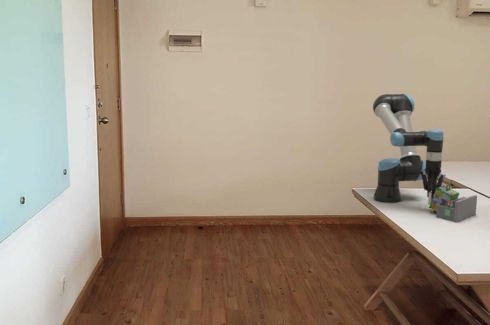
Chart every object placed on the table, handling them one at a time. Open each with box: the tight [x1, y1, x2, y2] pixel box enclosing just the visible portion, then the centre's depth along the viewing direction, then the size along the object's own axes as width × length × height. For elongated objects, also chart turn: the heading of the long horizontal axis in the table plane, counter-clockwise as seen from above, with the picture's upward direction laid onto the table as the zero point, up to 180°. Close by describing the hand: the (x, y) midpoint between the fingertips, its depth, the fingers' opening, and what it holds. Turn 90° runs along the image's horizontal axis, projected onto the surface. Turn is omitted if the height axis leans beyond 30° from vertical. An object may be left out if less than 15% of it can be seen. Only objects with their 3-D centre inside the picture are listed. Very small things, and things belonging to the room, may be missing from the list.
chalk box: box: [428, 182, 460, 212], centre depth 234 cm, size 9×9×15 cm
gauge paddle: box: [448, 196, 467, 208], centre depth 229 cm, size 1×16×8 cm, turn 128°
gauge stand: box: [435, 194, 478, 223], centre depth 230 cm, size 11×20×10 cm, turn 128°
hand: (430, 204), depth 241 cm, fingers closed
